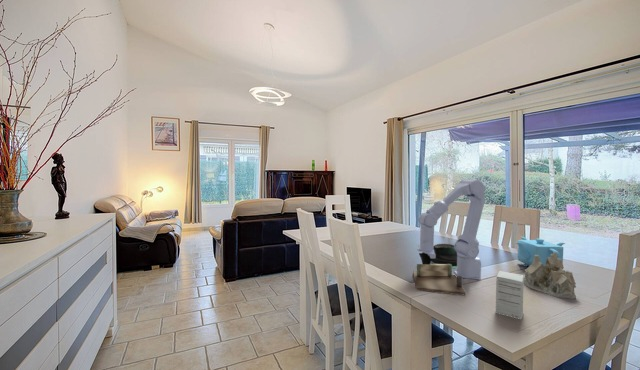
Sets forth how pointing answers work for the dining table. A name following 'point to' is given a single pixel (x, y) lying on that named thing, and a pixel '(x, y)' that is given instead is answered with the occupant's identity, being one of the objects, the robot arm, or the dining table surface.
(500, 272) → the supplement box
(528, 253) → the teakettle
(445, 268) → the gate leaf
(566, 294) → the ceramic cottage
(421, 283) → the board
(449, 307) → the dining table surface
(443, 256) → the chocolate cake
